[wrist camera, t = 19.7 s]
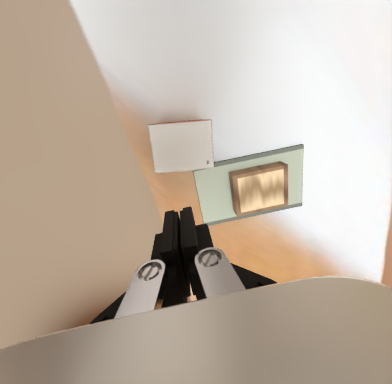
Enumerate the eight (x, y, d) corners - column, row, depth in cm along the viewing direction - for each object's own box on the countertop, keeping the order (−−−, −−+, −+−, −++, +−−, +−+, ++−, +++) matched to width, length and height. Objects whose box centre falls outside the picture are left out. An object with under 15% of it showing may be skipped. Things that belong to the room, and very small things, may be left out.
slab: (232, 176, 36) (288, 164, 36) (228, 172, 39) (280, 161, 39) (237, 216, 39) (288, 205, 39) (233, 210, 42) (280, 199, 42)
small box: (201, 119, 35) (213, 118, 23) (203, 152, 37) (215, 169, 25) (157, 122, 35) (146, 124, 23) (162, 156, 37) (154, 174, 25)
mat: (192, 167, 38) (192, 167, 38) (301, 144, 39) (303, 144, 38) (204, 225, 43) (204, 226, 43) (300, 204, 44) (302, 205, 43)
